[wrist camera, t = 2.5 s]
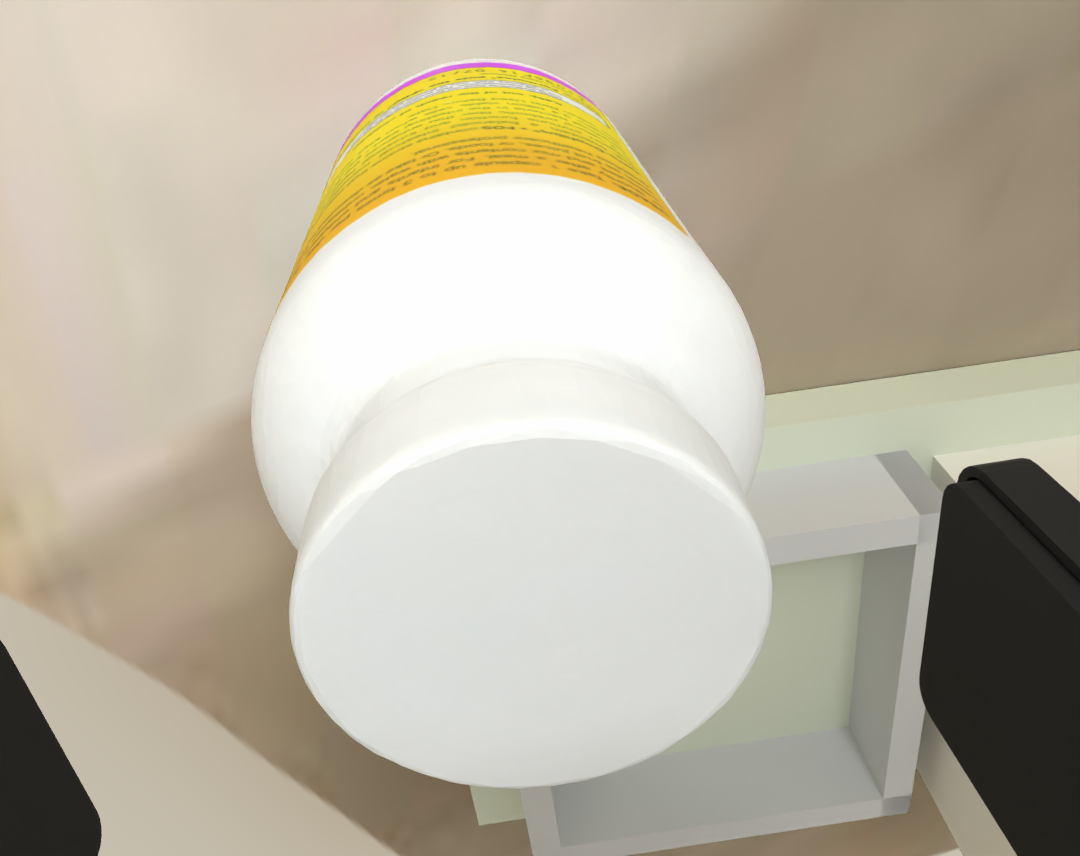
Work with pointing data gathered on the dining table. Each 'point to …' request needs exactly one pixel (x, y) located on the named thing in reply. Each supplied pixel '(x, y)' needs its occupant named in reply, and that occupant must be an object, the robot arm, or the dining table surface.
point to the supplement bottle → (511, 442)
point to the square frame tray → (831, 624)
